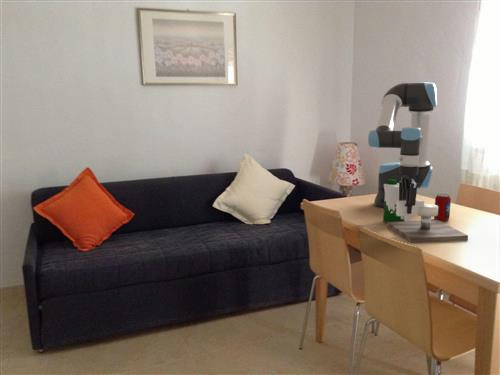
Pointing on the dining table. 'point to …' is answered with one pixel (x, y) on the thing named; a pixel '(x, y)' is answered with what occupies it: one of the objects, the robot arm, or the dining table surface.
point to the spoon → (417, 209)
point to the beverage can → (443, 207)
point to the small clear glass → (425, 223)
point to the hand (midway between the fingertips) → (405, 219)
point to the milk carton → (391, 201)
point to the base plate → (426, 232)
